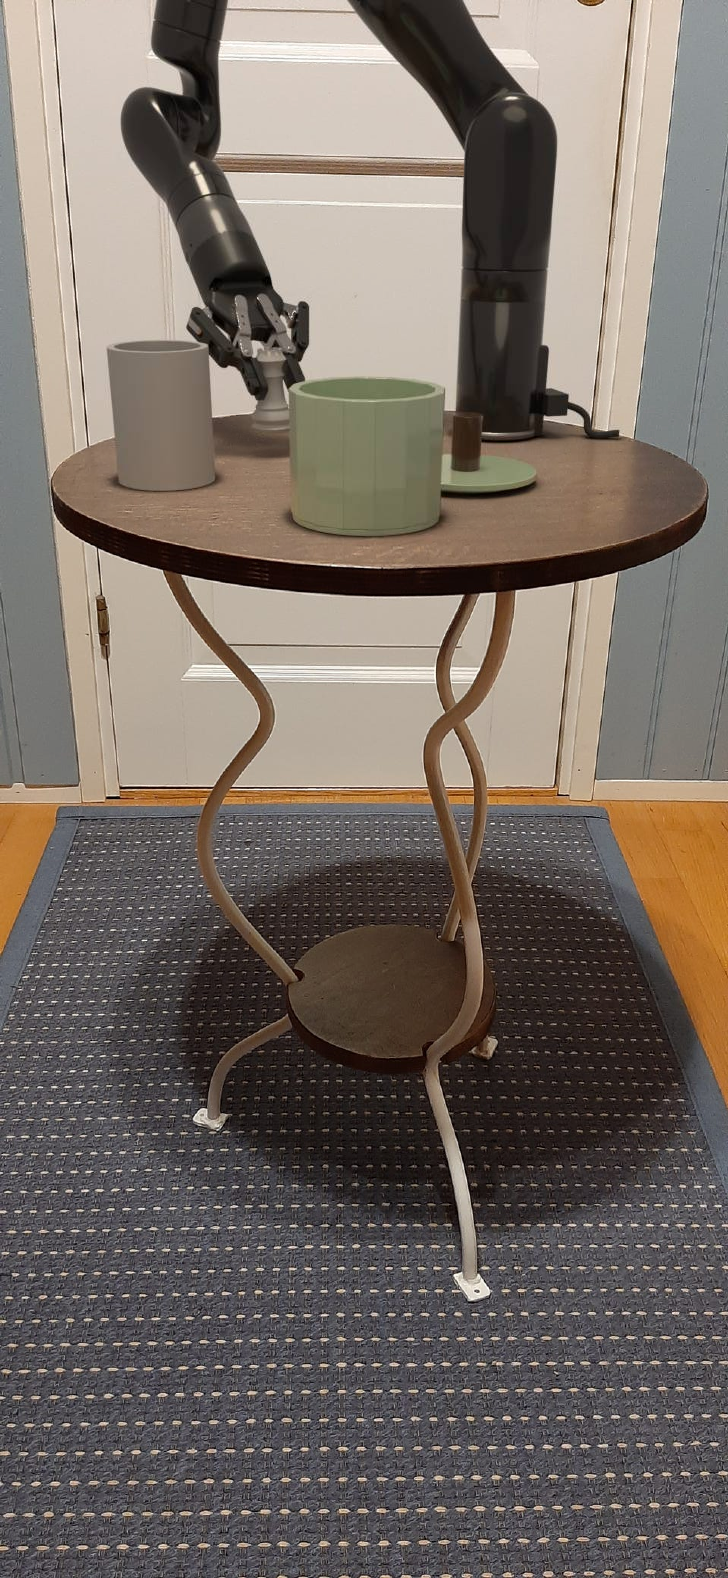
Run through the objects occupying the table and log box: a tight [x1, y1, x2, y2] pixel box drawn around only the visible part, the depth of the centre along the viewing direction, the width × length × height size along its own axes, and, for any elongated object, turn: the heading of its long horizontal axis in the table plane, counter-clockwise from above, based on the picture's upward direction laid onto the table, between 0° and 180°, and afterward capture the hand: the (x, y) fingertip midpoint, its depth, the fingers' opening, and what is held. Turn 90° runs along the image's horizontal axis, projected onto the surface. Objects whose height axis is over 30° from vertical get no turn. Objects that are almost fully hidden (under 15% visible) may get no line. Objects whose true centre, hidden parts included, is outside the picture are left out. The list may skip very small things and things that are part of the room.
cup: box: [106, 339, 216, 492], centre depth 107 cm, size 9×9×12 cm
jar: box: [288, 375, 446, 537], centre depth 96 cm, size 13×13×10 cm
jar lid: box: [441, 412, 538, 494], centre depth 109 cm, size 14×14×6 cm
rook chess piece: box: [251, 347, 289, 435], centre depth 118 cm, size 4×4×8 cm
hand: (280, 393), depth 116 cm, fingers closed on rook chess piece, 3 cm apart
